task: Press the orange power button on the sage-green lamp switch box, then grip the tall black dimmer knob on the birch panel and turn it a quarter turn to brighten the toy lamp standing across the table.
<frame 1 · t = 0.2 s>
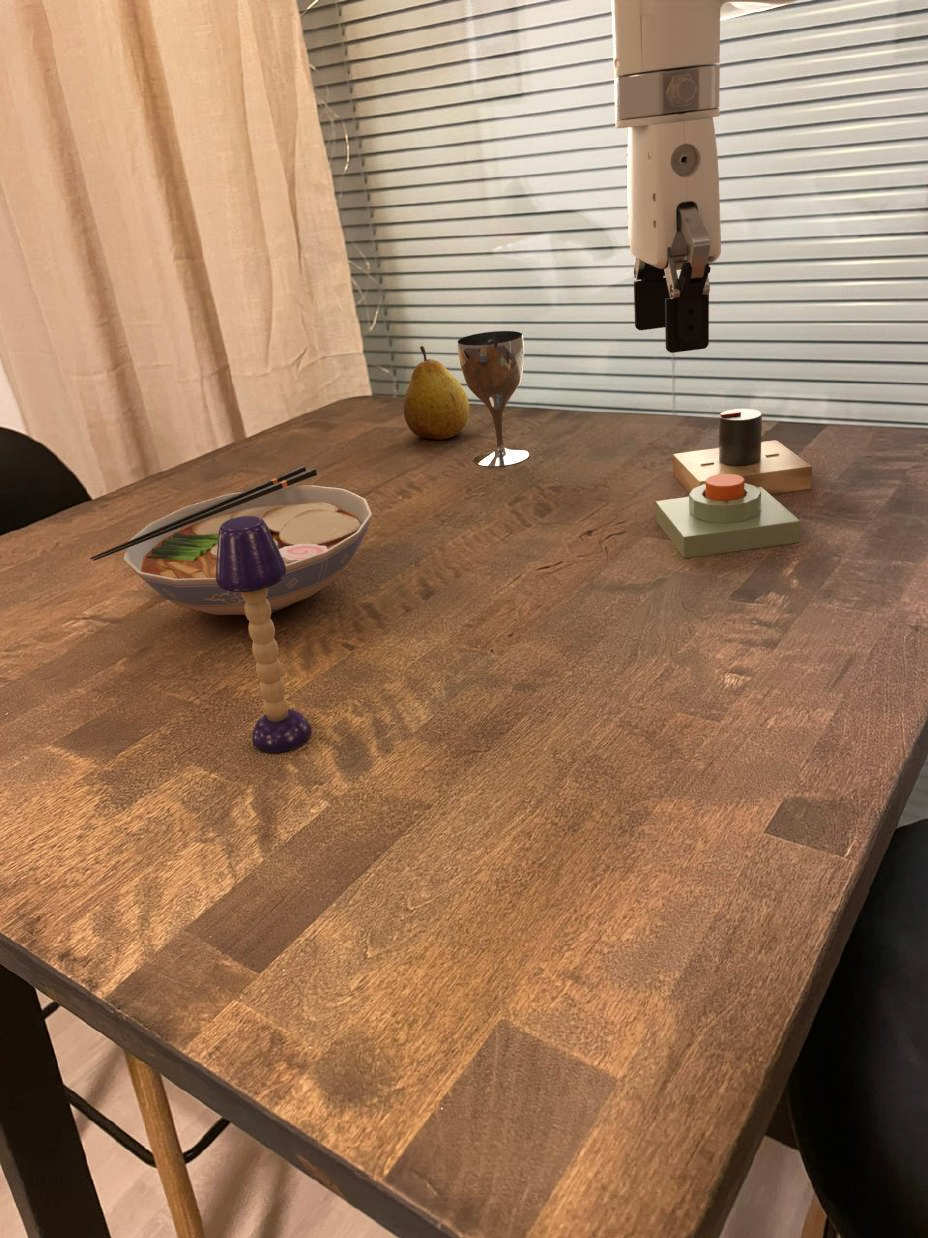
hand: (669, 338, 79), 21 cm above the table, tool pointing down, fingers open, 9 cm apart
toy lamp: (287, 738, 71), on the table
switch box: (724, 531, 95), on the table
power button: (724, 488, 93), point 4 cm above the table, slide at 0.1 cm
wine glass: (501, 458, 124), on the table
ramen bowl: (265, 600, 93), on the table
fruit: (440, 436, 136), on the table
dimmer panel: (739, 481, 107), on the table
dimmer knob: (740, 435, 104), point 5 cm above the table, hinge at 0.0°
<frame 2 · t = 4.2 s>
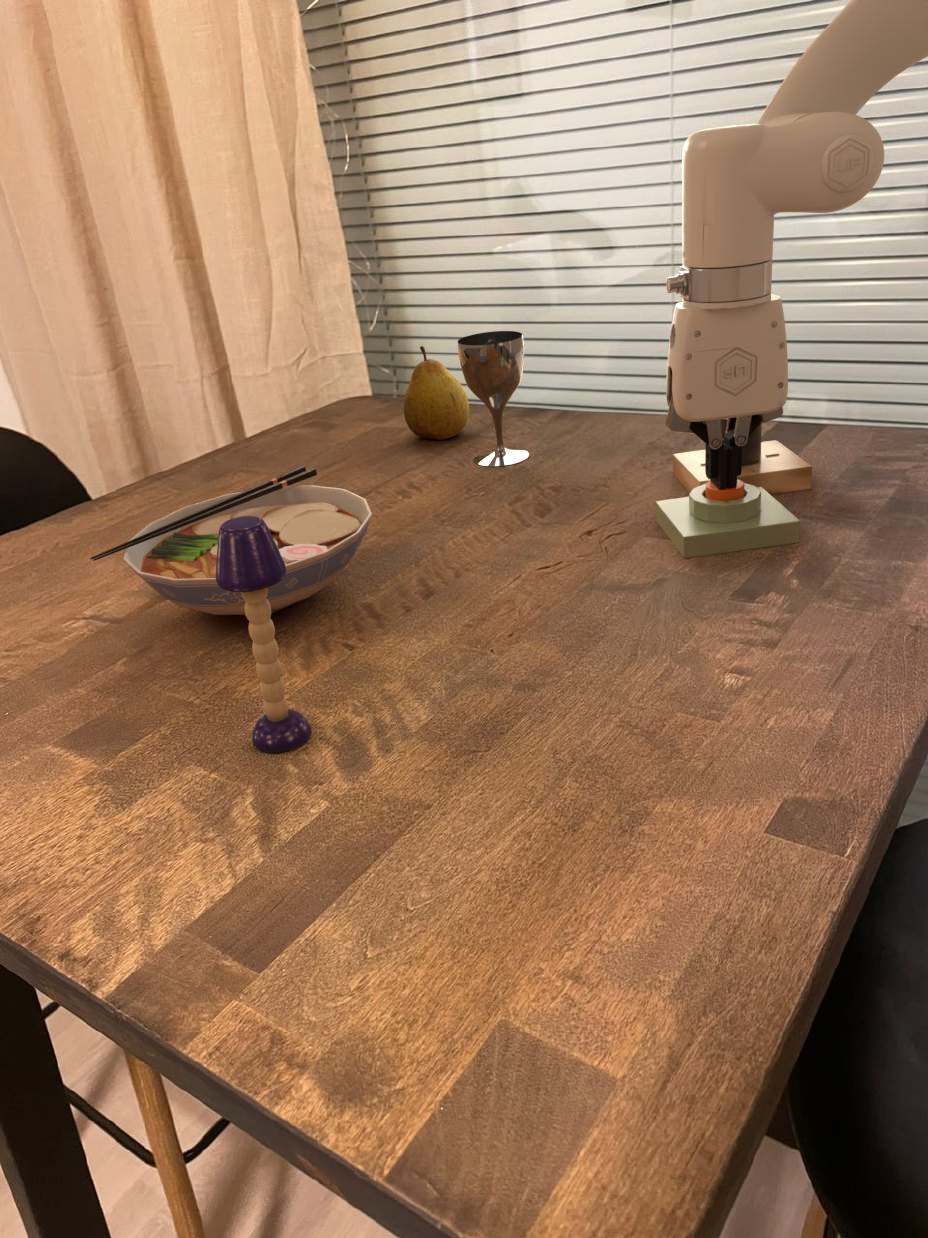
hand: (723, 483, 93), 5 cm above the table, tool pointing down, fingers closed
power button: (724, 492, 93), point 4 cm above the table, slide at -0.4 cm, touching gripper
everything else where it was.
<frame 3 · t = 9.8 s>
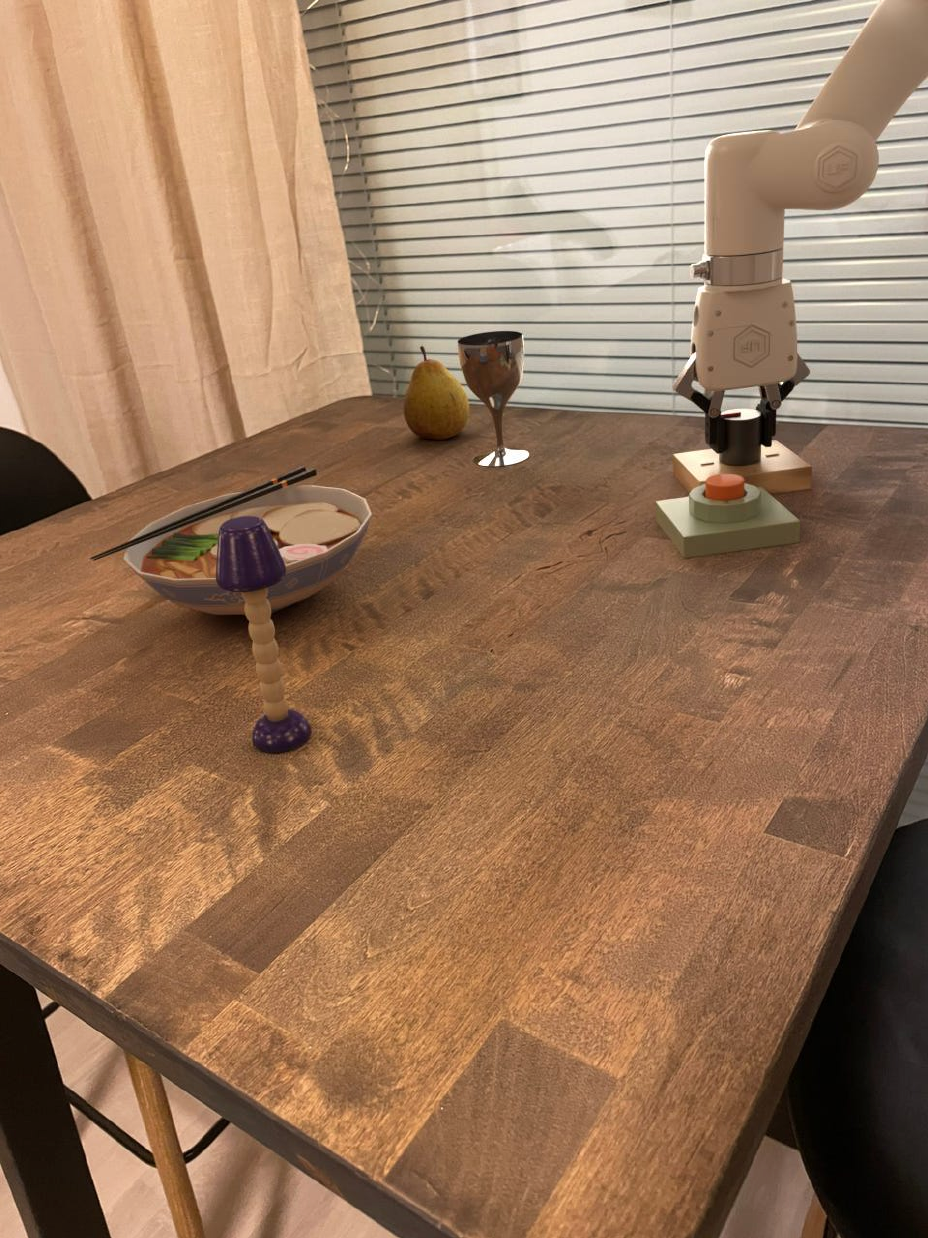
hand: (740, 445, 105), 4 cm above the table, tool pointing down, fingers closed on dimmer knob, 4 cm apart
power button: (724, 488, 93), point 4 cm above the table, slide at 0.1 cm
dimmer knob: (740, 435, 104), point 5 cm above the table, hinge at 0.1°, touching gripper
everything else where it was.
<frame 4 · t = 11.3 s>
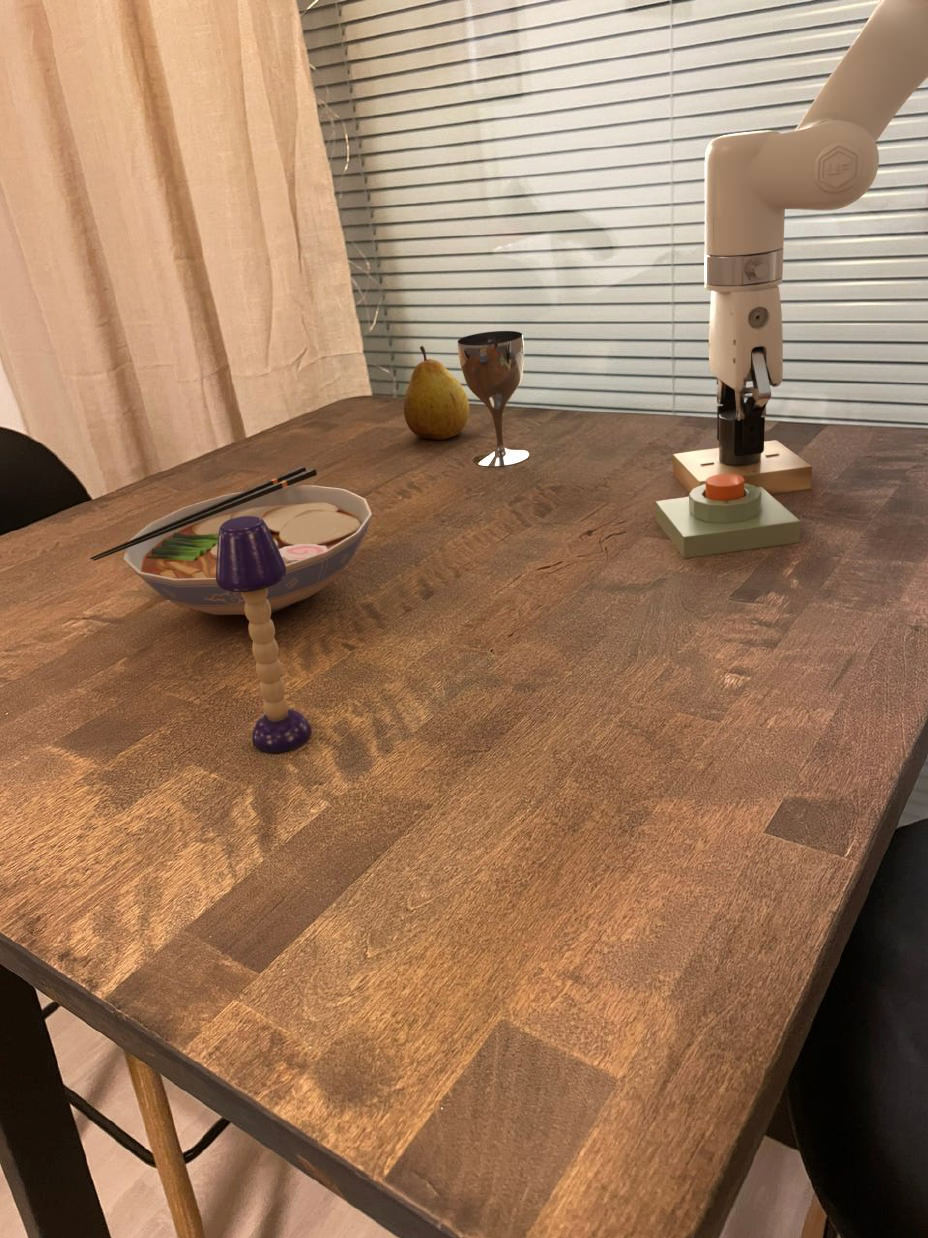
hand: (739, 445, 105), 4 cm above the table, tool pointing down, fingers closed on dimmer knob, 4 cm apart
dimmer knob: (740, 435, 104), point 5 cm above the table, hinge at 89.9°, touching gripper
everything else where it was.
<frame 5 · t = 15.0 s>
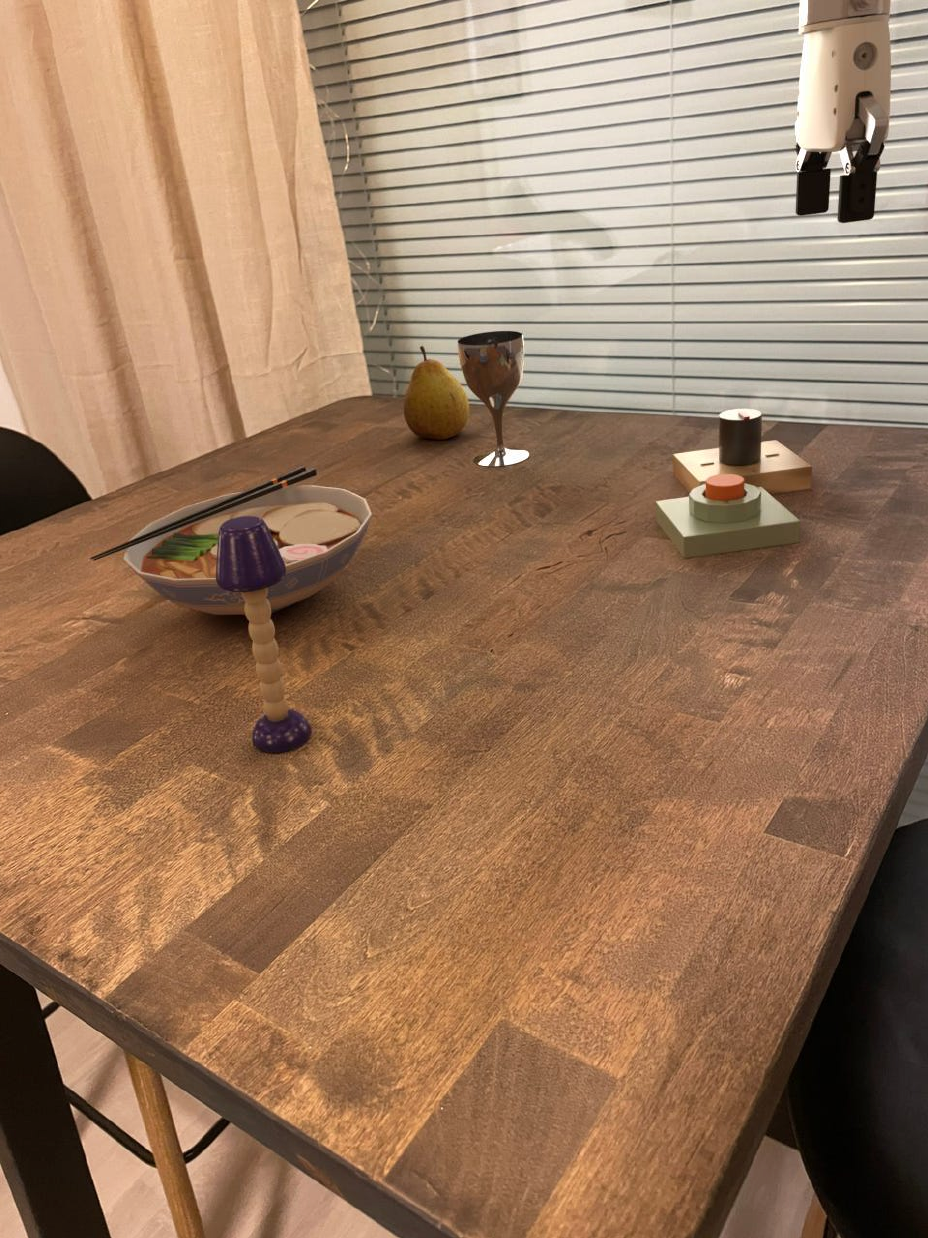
hand: (832, 217, 93), 26 cm above the table, tool pointing down, fingers open, 9 cm apart
dimmer knob: (740, 435, 104), point 5 cm above the table, hinge at 88.7°
everything else where it was.
at the end: power button pushed in 1.1 cm at the most during the clip, back to where it started at the end; power button slide at 0.1 cm; dimmer knob at +89° (first picture: +0°); toy lamp moved 0.2 cm from its start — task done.
